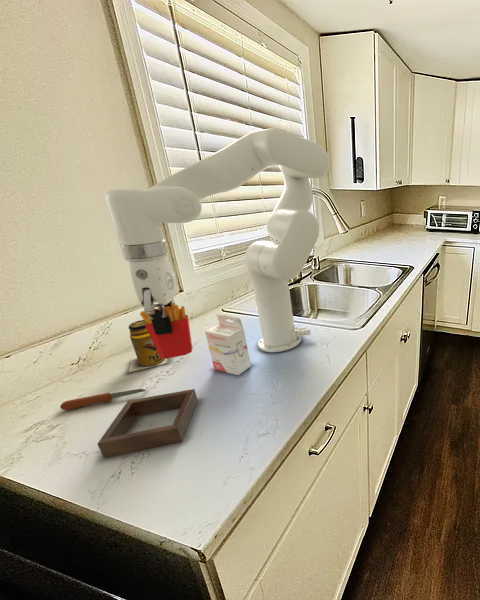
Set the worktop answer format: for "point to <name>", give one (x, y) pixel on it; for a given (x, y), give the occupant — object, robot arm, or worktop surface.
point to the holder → (123, 443)
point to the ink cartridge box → (228, 345)
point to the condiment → (143, 348)
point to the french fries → (174, 341)
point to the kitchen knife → (96, 399)
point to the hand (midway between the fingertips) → (168, 328)
